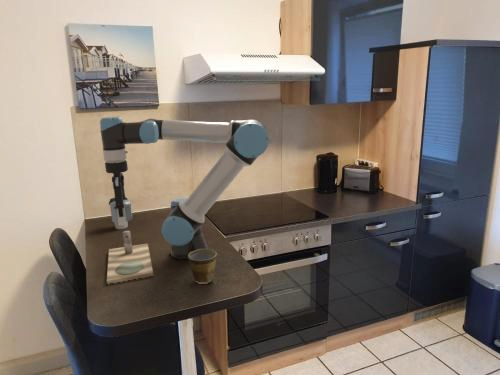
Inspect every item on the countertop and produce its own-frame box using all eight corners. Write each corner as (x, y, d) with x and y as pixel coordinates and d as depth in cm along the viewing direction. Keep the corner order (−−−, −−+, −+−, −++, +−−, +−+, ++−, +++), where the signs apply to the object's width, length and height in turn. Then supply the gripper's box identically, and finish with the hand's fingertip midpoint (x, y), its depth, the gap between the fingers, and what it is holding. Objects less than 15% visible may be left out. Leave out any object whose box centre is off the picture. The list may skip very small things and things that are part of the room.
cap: (132, 221, 141) (130, 202, 139) (111, 223, 139) (108, 204, 137) (132, 215, 148) (130, 197, 146) (112, 217, 146) (110, 199, 144)
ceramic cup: (224, 279, 136) (222, 253, 134) (203, 290, 129) (200, 263, 127) (200, 269, 145) (198, 244, 142) (178, 279, 138) (176, 253, 135)
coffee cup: (107, 229, 193) (103, 200, 189) (122, 223, 201) (118, 195, 197) (121, 231, 188) (117, 202, 185) (135, 225, 196) (132, 197, 193)
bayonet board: (109, 252, 164) (106, 229, 161) (148, 246, 168) (145, 224, 166) (107, 284, 136) (103, 257, 133) (153, 276, 141) (150, 249, 138)
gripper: (125, 164, 129) (132, 229, 135) (127, 155, 148) (134, 212, 154) (101, 166, 127) (110, 231, 133) (107, 157, 146) (114, 214, 152)
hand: (123, 221), depth 143 cm, fingers closed on cap, 7 cm apart
